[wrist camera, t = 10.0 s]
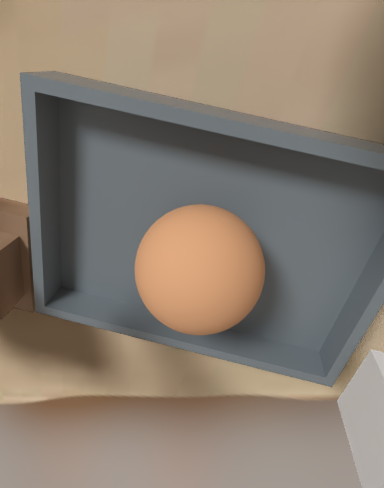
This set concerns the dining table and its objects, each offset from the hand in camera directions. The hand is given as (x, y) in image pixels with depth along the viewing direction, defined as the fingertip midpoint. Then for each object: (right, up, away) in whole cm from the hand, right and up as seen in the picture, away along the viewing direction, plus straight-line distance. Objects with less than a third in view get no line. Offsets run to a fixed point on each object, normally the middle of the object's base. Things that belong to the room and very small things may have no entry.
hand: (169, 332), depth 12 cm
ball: (+2, +3, +7) cm, 8 cm away
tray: (+2, +4, +7) cm, 8 cm away
